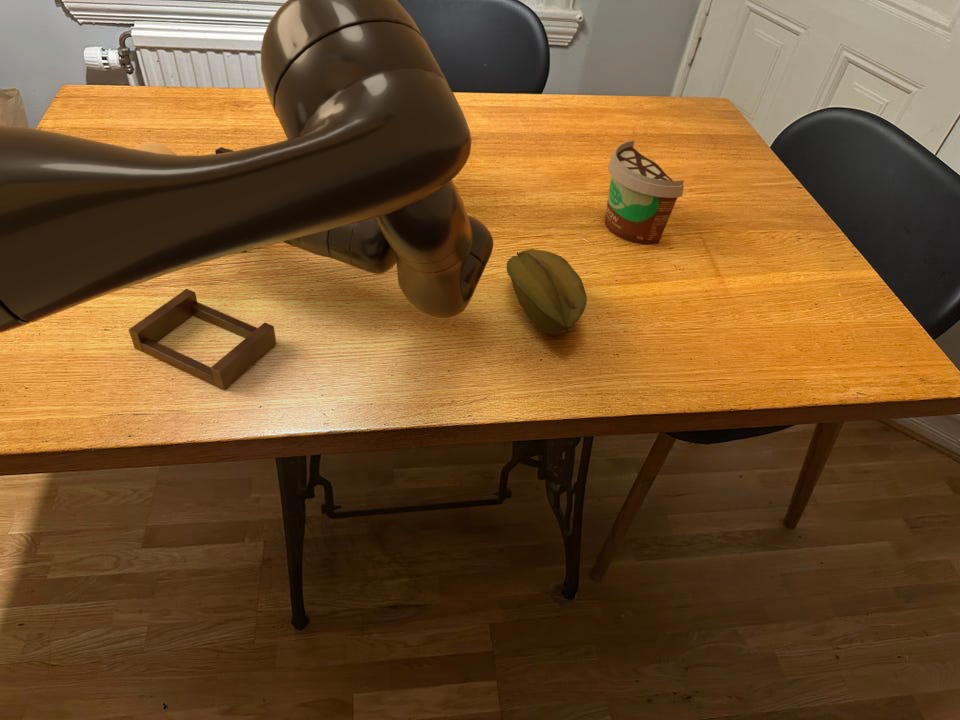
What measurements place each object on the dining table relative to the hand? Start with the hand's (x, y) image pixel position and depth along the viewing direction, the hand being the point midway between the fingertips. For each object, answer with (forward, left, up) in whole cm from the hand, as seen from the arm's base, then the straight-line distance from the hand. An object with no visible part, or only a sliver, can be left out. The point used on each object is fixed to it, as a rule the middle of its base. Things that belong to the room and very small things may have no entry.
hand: (191, 170), depth 78 cm
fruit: (+40, -11, -10) cm, 43 cm away
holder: (+4, -18, -10) cm, 21 cm away
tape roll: (-5, +3, -9) cm, 11 cm away
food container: (+54, +8, -10) cm, 55 cm away
